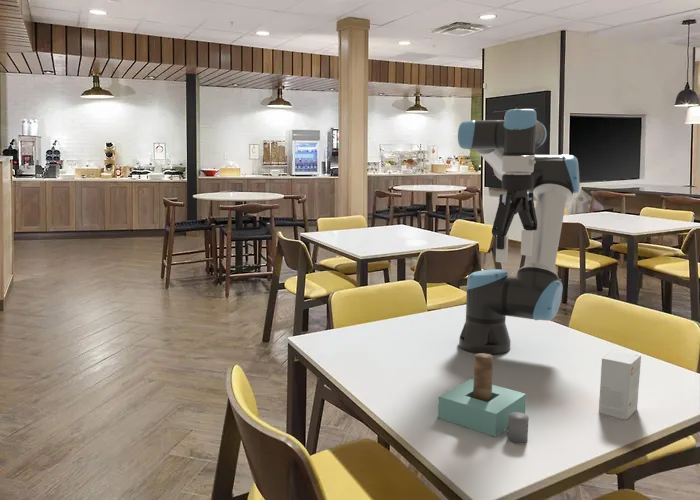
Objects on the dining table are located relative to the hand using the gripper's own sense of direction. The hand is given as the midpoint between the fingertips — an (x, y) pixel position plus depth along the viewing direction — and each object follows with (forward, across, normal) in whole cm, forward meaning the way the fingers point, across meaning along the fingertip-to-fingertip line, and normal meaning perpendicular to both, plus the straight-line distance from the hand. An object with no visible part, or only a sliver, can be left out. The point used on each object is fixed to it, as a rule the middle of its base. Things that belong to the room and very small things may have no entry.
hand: (514, 258), depth 157 cm
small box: (+32, -2, -28) cm, 42 cm away
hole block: (+32, -25, -6) cm, 41 cm away
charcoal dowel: (+32, -30, -17) cm, 47 cm away
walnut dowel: (+32, -25, -6) cm, 41 cm away
